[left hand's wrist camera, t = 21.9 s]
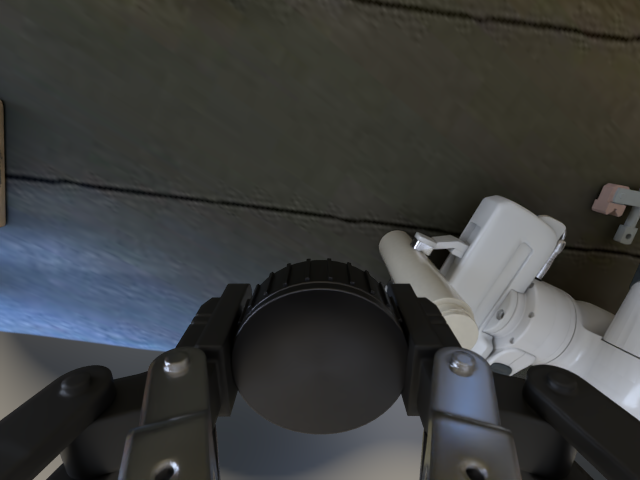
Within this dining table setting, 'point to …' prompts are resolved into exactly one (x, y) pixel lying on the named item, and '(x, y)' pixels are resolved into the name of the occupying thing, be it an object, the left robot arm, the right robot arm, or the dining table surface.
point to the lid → (320, 348)
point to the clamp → (620, 209)
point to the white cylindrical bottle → (428, 284)
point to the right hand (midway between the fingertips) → (400, 263)
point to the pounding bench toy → (2, 169)
